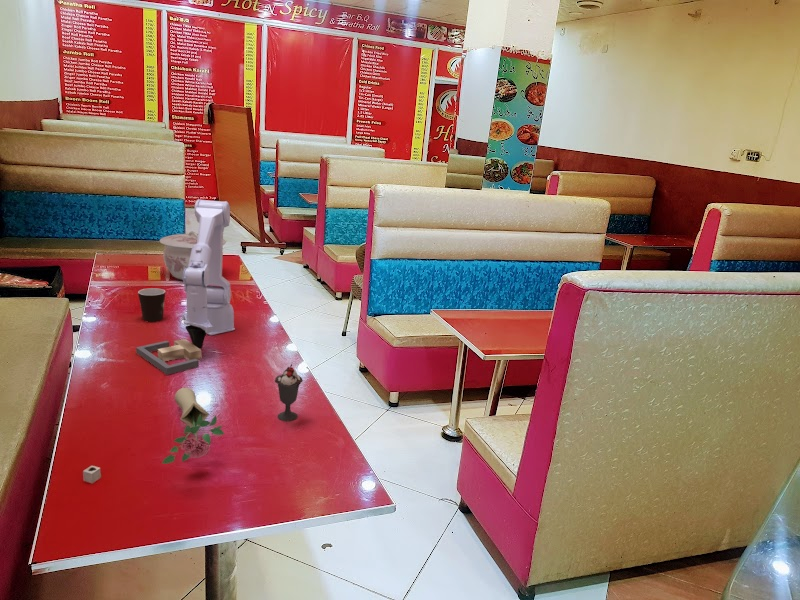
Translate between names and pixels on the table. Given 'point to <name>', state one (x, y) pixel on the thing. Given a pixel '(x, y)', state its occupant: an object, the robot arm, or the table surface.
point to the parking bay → (160, 364)
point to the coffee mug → (152, 304)
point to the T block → (180, 351)
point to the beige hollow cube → (91, 474)
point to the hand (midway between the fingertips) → (197, 348)
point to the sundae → (288, 392)
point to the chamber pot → (179, 252)
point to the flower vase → (192, 427)
